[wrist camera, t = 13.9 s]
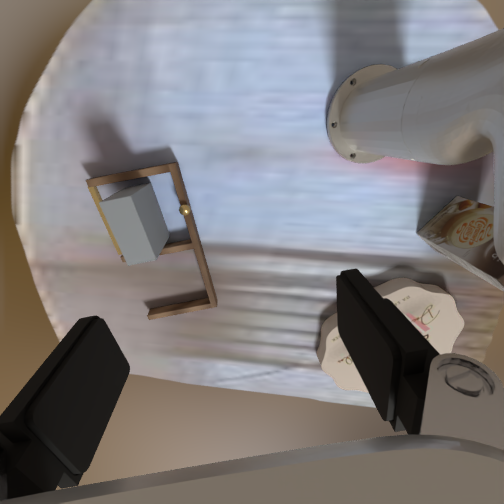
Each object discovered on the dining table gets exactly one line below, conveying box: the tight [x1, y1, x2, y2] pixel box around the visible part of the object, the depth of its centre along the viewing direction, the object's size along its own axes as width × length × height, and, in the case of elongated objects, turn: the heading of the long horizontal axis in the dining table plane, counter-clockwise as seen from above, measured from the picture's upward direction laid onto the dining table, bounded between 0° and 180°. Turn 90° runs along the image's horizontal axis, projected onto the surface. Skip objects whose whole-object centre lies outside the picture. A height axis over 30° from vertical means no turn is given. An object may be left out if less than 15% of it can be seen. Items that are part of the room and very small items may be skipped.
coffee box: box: [417, 196, 504, 291], centre depth 39 cm, size 9×6×16 cm
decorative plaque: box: [317, 278, 464, 393], centre depth 56 cm, size 30×4×30 cm
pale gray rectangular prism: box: [99, 183, 170, 266], centre depth 37 cm, size 4×9×9 cm, turn 11°
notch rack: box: [86, 162, 217, 320], centre depth 42 cm, size 14×26×3 cm, turn 10°
